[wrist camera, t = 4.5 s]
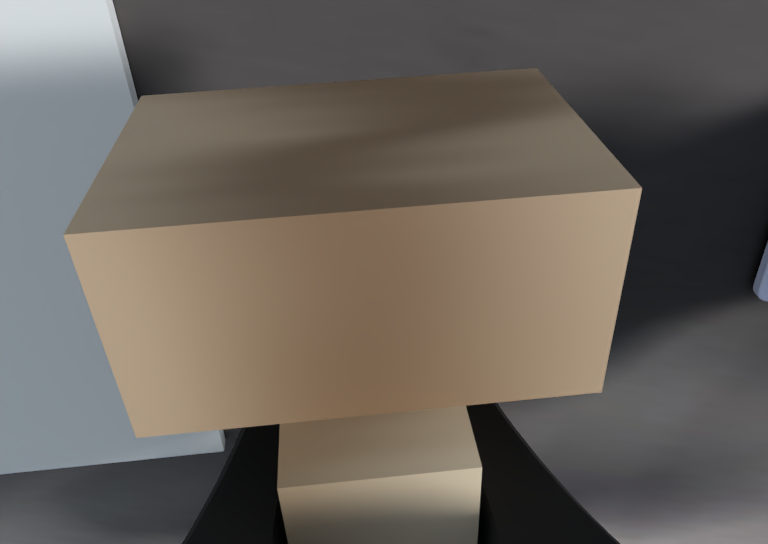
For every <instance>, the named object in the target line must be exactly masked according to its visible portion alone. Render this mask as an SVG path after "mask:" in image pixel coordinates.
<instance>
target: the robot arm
mask: <svg viewBox="0 0 768 544" xmlns="http://www.w3.org/2000/svg"><path fill="white" fill-rule="evenodd" d="M753 291H754V293H755V294H756V295H757V296H758V297H759V298H760V299H761V300H763V301H768V242H767V245H766V248H765V251H764V254H763V257H762V260H761V263H760V266H759V269H758V272H757V275H756V278H755V281H754V285H753ZM466 408H467V412H468V416H469V419H470V423H471V427H472V431H473V434H474V438H475V442H476V446H477V449H478V453H479V457H480V460H481V464H482V480H481V495H480V510H479V525H478V540H477V544H620V543H619V542H618V541H617V540H616V539H615V538H613V537H612V536H611V535H610V534H609V533H608V532H607V531H606V530H605V529H604V528H603V527H602V526H601V525H600V524H599V523H598V522H597V521H596V520H595V519H594V518H593V517H592V516H591V515H590V514H589V513H588V512H587V511H586V510H585V509H584V508H583V507H582V506H581V505H580V504H579V503H578V502H577V501H576V499H575V498H574V497H573V496H572V495H571V494H570V493H569V492H568V491H567V490H566V489H565V488H564V486H563V485H562V484H561V483H560V482H559V481H558V480H557V479H556V477H555V476H554V475H553V474H552V473H551V472H550V471H549V469H548V468H547V467H546V466H545V465H544V464H543V462H542V461H541V460H540V459H539V458H538V456H537V455H536V454H535V453H534V451H533V450H532V449H531V448H530V446H529V445H528V444H527V443H526V441H525V440H524V439H523V438H522V436H521V435H520V434H519V432H518V431H517V430H516V429H515V427H514V426H513V425H512V423H511V422H510V421H509V419H508V418H507V417H506V415H505V414H504V412H503V411H502V410H501V408H500V407H499V405H498V404H497V403H487V404H477V405H467V406H466ZM279 430H280V424H274V425H264V426H253V427H243V428H242V429H241V431H240V434H239V436H238V438H237V441H236V443H235V445H234V447H233V449H232V451H231V454H230V456H229V458H228V460H227V462H226V464H225V466H224V468H223V470H222V472H221V475H220V477H219V479H218V481H217V483H216V485H215V486H214V488H213V490H212V492H211V494H210V496H209V497H208V499H207V501H206V503H205V505H204V507H203V508H202V510H201V512H200V514H199V516H198V517H197V519H196V521H195V523H194V525H193V526H192V528H191V530H190V532H189V533H188V535H187V536H186V538H185V540H184V541H183V543H182V544H288V541H287V536H286V531H285V526H284V521H283V516H282V511H281V506H280V501H279V495H278V490H277V480H278V455H279Z"/></svg>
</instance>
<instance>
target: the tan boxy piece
mask: <svg viewBox="0 0 768 544" xmlns="http://www.w3.org/2000/svg"><path fill="white" fill-rule="evenodd" d="M641 192H642V187H641V186H640V185H639V184H638V183H637V181H636V180H635V179H634V178H633V177H632V176H631V175H630V173H629V172H628V171H627V170H626V169H625V168H624V167H623V166H622V164H621V163H620V162H619V161H618V160H617V159H616V158H615V156H614V155H613V154H612V153H611V152H610V151H609V150H608V149H607V147H606V146H605V145H604V144H603V143H602V142H601V141H600V139H599V138H598V137H597V136H596V135H595V134H594V133H593V132H592V130H591V129H590V128H589V127H588V126H587V125H586V124H585V122H584V121H583V120H582V119H581V118H580V117H579V116H578V115H577V113H576V112H575V111H574V110H573V109H572V108H571V107H570V105H569V104H568V103H567V102H566V101H565V100H564V99H563V97H562V96H561V95H560V94H559V93H558V92H557V91H556V90H555V88H554V87H553V86H552V85H551V84H550V83H549V82H548V80H547V79H546V78H545V77H544V76H543V75H542V74H541V73H540V71H539V70H538V69H537V68H531V69H516V70H502V71H488V72H474V73H459V74H445V75H431V76H416V77H402V78H388V79H374V80H359V81H345V82H331V83H317V84H302V85H288V86H274V87H259V88H245V89H231V90H217V91H202V92H188V93H174V94H160V95H145V96H141V98H140V99H139V101H138V103H137V105H136V106H135V108H134V110H133V112H132V114H131V115H130V117H129V119H128V121H127V122H126V124H125V126H124V128H123V130H122V131H121V133H120V135H119V137H118V138H117V140H116V142H115V144H114V146H113V147H112V149H111V151H110V153H109V154H108V156H107V158H106V160H105V162H104V163H103V165H102V167H101V169H100V170H99V172H98V174H97V176H96V178H95V179H94V181H93V183H92V185H91V186H90V188H89V190H88V192H87V194H86V195H85V197H84V199H83V201H82V202H81V204H80V206H79V208H78V210H77V211H76V213H75V215H74V217H73V218H72V220H71V222H70V224H69V226H68V227H67V229H66V231H65V233H64V234H63V235H64V238H65V241H66V244H67V247H68V249H69V252H70V255H71V258H72V261H73V263H74V266H75V269H76V272H77V274H78V277H79V280H80V283H81V286H82V288H83V291H84V294H85V297H86V299H87V302H88V305H89V308H90V311H91V313H92V316H93V319H94V322H95V324H96V327H97V330H98V333H99V336H100V338H101V341H102V344H103V347H104V349H105V352H106V355H107V358H108V361H109V363H110V366H111V369H112V372H113V374H114V377H115V380H116V383H117V386H118V388H119V391H120V394H121V397H122V400H123V402H124V405H125V408H126V411H127V413H128V416H129V419H130V422H131V425H132V427H133V430H134V433H135V436H136V438H141V437H152V436H162V435H172V434H182V433H192V432H202V431H213V430H223V429H233V428H243V427H253V426H264V425H274V424H280V430H279V455H278V480H277V490H278V495H279V501H280V506H281V511H282V516H283V521H284V526H285V531H286V536H287V541H288V544H477V540H478V525H479V510H480V495H481V480H482V464H481V460H480V457H479V453H478V449H477V446H476V442H475V438H474V434H473V431H472V427H471V423H470V419H469V416H468V412H467V408H466V406H467V405H477V404H487V403H498V402H508V401H518V400H528V399H538V398H549V397H559V396H569V395H579V394H589V393H599V392H602V388H603V383H604V378H605V373H606V368H607V363H608V358H609V352H610V347H611V342H612V337H613V332H614V327H615V322H616V317H617V312H618V307H619V302H620V297H621V292H622V287H623V282H624V277H625V272H626V267H627V262H628V257H629V252H630V247H631V242H632V237H633V232H634V227H635V222H636V217H637V212H638V207H639V202H640V197H641Z"/></svg>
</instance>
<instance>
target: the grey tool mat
mask: <svg viewBox="0 0 768 544" xmlns="http://www.w3.org/2000/svg"><path fill="white" fill-rule="evenodd" d="M137 103H138V98H137V94H136V90H135V87H134V83H133V79H132V75H131V71H130V67H129V63H128V59H127V56H126V52H125V48H124V44H123V40H122V36H121V32H120V28H119V24H118V21H117V17H116V13H115V9H114V5H113V1H112V0H0V474H10V473H19V472H29V471H39V470H48V469H58V468H68V467H77V466H87V465H97V464H106V463H116V462H126V461H135V460H145V459H155V458H164V457H174V456H184V455H193V454H203V453H213V452H222V451H224V449H225V441H226V440H225V436H224V432H223V430H213V431H202V432H192V433H182V434H172V435H162V436H152V437H141V438H136V436H135V433H134V430H133V427H132V425H131V422H130V419H129V416H128V413H127V411H126V408H125V405H124V402H123V400H122V397H121V394H120V391H119V388H118V386H117V383H116V380H115V377H114V374H113V372H112V369H111V366H110V363H109V361H108V358H107V355H106V352H105V349H104V347H103V344H102V341H101V338H100V336H99V333H98V330H97V327H96V324H95V322H94V319H93V316H92V313H91V311H90V308H89V305H88V302H87V299H86V297H85V294H84V291H83V288H82V286H81V283H80V280H79V277H78V274H77V272H76V269H75V266H74V263H73V261H72V258H71V255H70V252H69V249H68V247H67V244H66V241H65V238H64V235H63V234H64V233H65V231H66V229H67V227H68V226H69V224H70V222H71V220H72V218H73V217H74V215H75V213H76V211H77V210H78V208H79V206H80V204H81V202H82V201H83V199H84V197H85V195H86V194H87V192H88V190H89V188H90V186H91V185H92V183H93V181H94V179H95V178H96V176H97V174H98V172H99V170H100V169H101V167H102V165H103V163H104V162H105V160H106V158H107V156H108V154H109V153H110V151H111V149H112V147H113V146H114V144H115V142H116V140H117V138H118V137H119V135H120V133H121V131H122V130H123V128H124V126H125V124H126V122H127V121H128V119H129V117H130V115H131V114H132V112H133V110H134V108H135V106H136V105H137Z"/></svg>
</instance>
